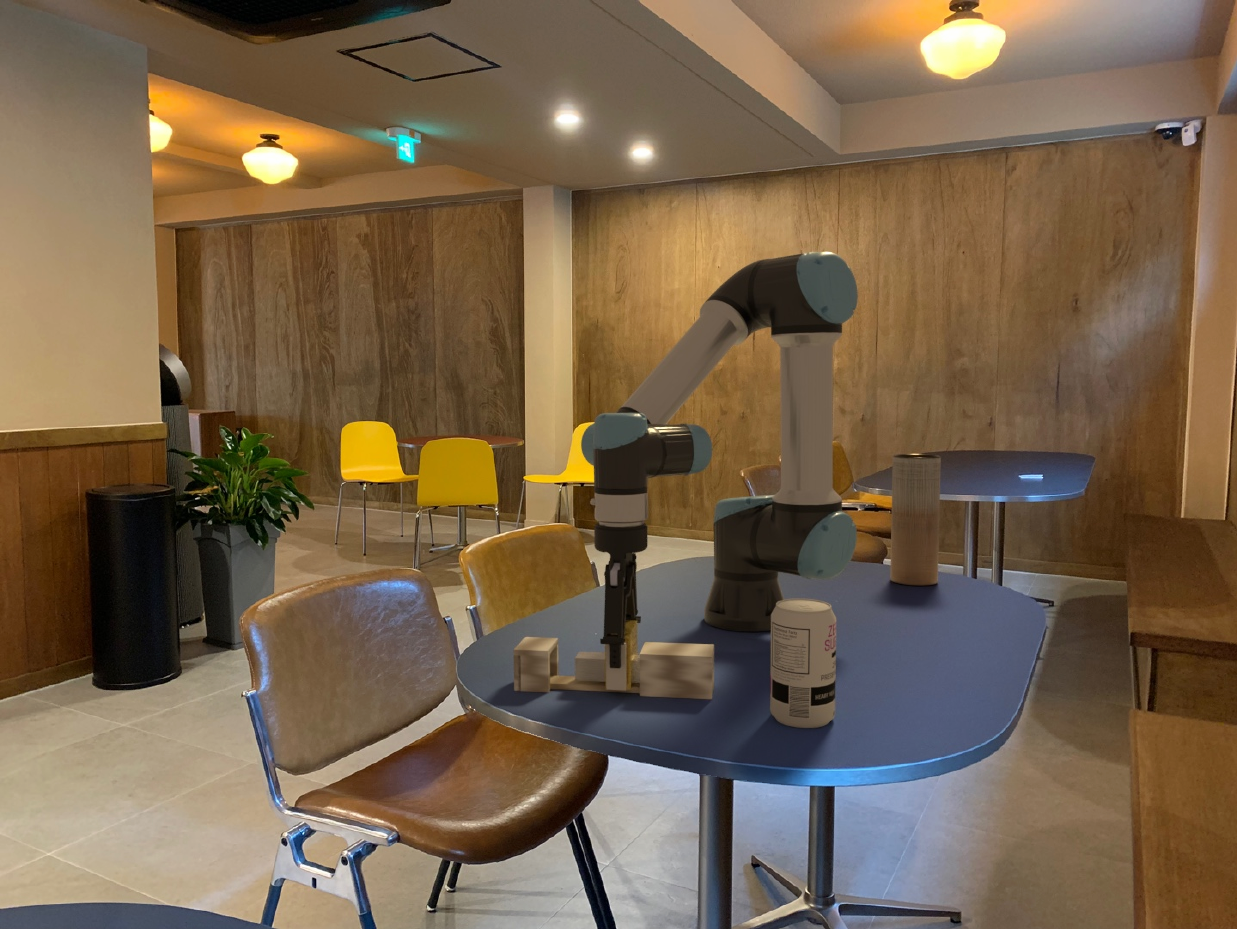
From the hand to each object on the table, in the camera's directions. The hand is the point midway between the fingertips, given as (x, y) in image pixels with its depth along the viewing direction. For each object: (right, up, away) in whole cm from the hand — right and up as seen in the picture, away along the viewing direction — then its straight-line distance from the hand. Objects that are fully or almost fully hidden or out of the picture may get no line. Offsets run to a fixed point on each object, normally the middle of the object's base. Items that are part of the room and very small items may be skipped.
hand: (621, 677), depth 130 cm
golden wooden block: (+3, -1, 0) cm, 3 cm away
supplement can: (+23, -3, -12) cm, 26 cm away
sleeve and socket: (-1, -1, 0) cm, 2 cm away
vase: (+64, +5, +69) cm, 95 cm away
